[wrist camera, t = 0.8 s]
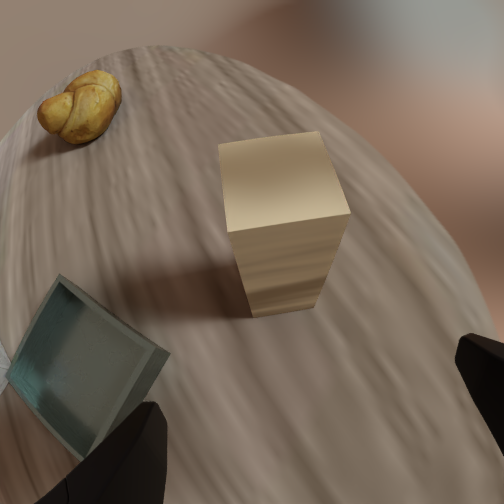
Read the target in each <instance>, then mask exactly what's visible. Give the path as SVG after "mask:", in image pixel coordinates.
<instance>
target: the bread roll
mask: <svg viewBox="0 0 504 504" xmlns="http://www.w3.org/2000/svg"><path fill="white" fill-rule="evenodd" d="M118 82H119V81H117V79H116V78H115V77H114V76H113V75H111V74H108V73H106V72H103V71H100V70H94V71H91V72H87V73H85V74H83V75H81V76H79V77H77V78H76V79H75V80H73V81H72V82H71V83H70V84H69V85H68V86H67V87H66V89H65V90H64V92H63V93H61V94H59V95H56V96H54V97H52V98H49V99H47V100H45V101H43V103H42V104H41V105H40V106H39V108H38V111H37V117H38V121H39V122H40V124H41V126H42V127H43V128H44V129H45V130H47V131H48V132H49V133H50V134H57V133H58V135H59V137H62V138H63V139H64V140H65V141H66V142H68V143H71V144H79V143H80V144H81V143H85V142H88V141H90V140H93V139H95V138H97V137H98V136H100V135H101V134H102V133H103V132H104V131H105V130H106V129H107V128H108V126H109V125H110V123H111V121H112V119H113V116H114V115H115V113H116V112H117V110H118V108H119V106H120V104H121V97H122V95H121V88H120V85H119V83H118Z"/></svg>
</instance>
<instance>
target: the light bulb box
mask: <svg viewBox="0 0 504 504" xmlns="http://www.w3.org/2000/svg"><path fill="white" fill-rule="evenodd" d="M10 364H11V362H10V360H9V358H8V356H7V354H6V352H5V350H4V348H3V346H2V344H1V342H0V395H1V393H2V392H3V390H4V389H5V387H6V386H7V384H8V383H9V381H8V380H7V378H6V377H5V376H6V373H7V371H8V369H9V367H10Z"/></svg>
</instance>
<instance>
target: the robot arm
mask: <svg viewBox="0 0 504 504" xmlns="http://www.w3.org/2000/svg"><path fill="white" fill-rule="evenodd" d="M455 363H456V366H457V368H458V370H459V372H460V374H461V376H462V378H463V380H464V382H465V384H466V387H467V389H468V391H469V393H470V395H471V397H472V399H473V401H474V403H475V405H476V407H477V408H478V410H479V412H480V413H481V415H482V417H483V419H484V420H485V422H486V424H487V426H488V428H489V429H490V431H491V433H492V435H493V437H494V439H495V441H496V442H497V444H498V446H499V448H500V450H501V452H502V454H503V456H504V343H501V342H498V341H495V340H492V339H489V338H486V337H483V336H480V335H477V334H474V333H469V334H467V335H464V336H462V337H461V338H460V339H459V343H458V347H457V351H456V355H455ZM166 475H167V421H166V419H165V417H164V415H163V413H162V411H161V409H160V407H159V405H158V404H157V403H156V402H154V401H150V402H142V403H140V404H139V405H138V406H137V407H136V408H135V409H134V410H133V411H132V412H131V413H130V414H129V415H128V416H127V417H126V418H125V419H124V420H123V421H122V422H121V423H120V424H119V425H118V426H117V427H116V428H115V429H114V430H113V431H112V432H111V433H110V434H109V435H108V436H107V437H106V438H105V439H104V440H103V441H102V442H101V443H100V444H99V445H98V446H97V447H96V448H95V449H94V450H93V451H92V452H91V453H90V454H89V455H88V456H87V457H86V458H85V459H83V460H82V461H81V462H80V463H79V464H78V465H77V466H76V467H75V468H74V469H73V470H72V471H71V472H70V473H69V474H68V475H67V476H66V478H64V479H62V480H61V481H60V482H59V483H58V484H57V485H56V486H55V487H54V488H53V489H52V490H50V491H49V492H48V493H47V494H46V495H45V496H43V497H42V498H41V499H40V500H38V501H37V502H36V503H34V504H163V500H164V492H165V484H166Z"/></svg>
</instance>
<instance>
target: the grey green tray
mask: <svg viewBox="0 0 504 504" xmlns="http://www.w3.org/2000/svg"><path fill="white" fill-rule="evenodd" d="M170 354H171V353H169V352H167V351H166V350H164V349H163V348H161V347H160V346H158V345H157V344H155V343H154V342H152V341H151V340H149V339H148V338H146V337H145V336H143V335H142V334H141V333H139V332H138V331H136V330H135V329H133V328H132V327H131V326H129V325H128V324H126V323H125V322H124V321H122V320H121V319H119V318H118V317H117V316H115V315H114V314H113V313H111V312H110V311H109V310H107V309H106V308H105V307H103V306H102V305H101V304H100V303H98V302H97V301H96V300H94V299H93V298H92V297H91V296H89V295H88V294H87V293H86V292H84V291H83V290H82V289H81V288H79V287H78V286H77V285H75V284H74V283H72V282H71V281H69V280H68V279H66V278H65V277H64V276H62V275H61V274H59V275H58V277H57V278H56V280H55V282H54V283H53V285H52V287H51V288H50V290H49V292H48V293H47V295H46V297H45V298H44V300H43V302H42V304H41V305H40V307H39V309H38V311H37V312H36V314H35V316H34V318H33V320H32V322H31V324H30V325H29V327H28V329H27V331H26V333H25V335H24V337H23V339H22V341H21V343H20V345H19V347H18V349H17V351H16V354H15V356H14V358H13V360H12V362H11V364H10V367H9V369H8V371H7V373H6V376H5V377H6V378H7V380H8V381H9V383H10V384H11V385H12V387H13V388H14V389H15V391H16V392H17V393H18V395H19V396H20V397H21V398H22V400H23V401H24V402H25V403H26V405H27V406H28V407H29V408H30V410H31V411H32V412H33V413H34V414H35V415H36V417H37V418H38V419H39V420H40V421H41V422H42V423H43V425H44V426H45V427H46V428H47V429H48V430H49V431H50V432H51V433H52V434H53V435H54V436H55V437H56V439H57V440H58V441H59V442H60V443H61V444H62V445H63V446H64V447H65V448H66V449H67V450H68V451H69V452H71V453H72V454H73V455H74V456H75V457H76V458H77V459H78V460H79V461H80V462H81V461H82V460H83V459H85V458H86V457H87V456H88V455H89V454H90V453H91V452H92V451H93V450H94V449H95V448H96V447H97V446H98V445H99V444H100V443H101V442H102V441H103V440H104V439H105V438H106V437H107V436H108V435H109V434H110V433H111V432H112V431H113V430H114V429H115V428H116V427H117V426H118V425H119V424H120V423H121V422H122V421H123V420H124V419H125V418H126V417H127V416H128V415H129V414H130V413H131V412H132V411H133V410H134V409H135V408H136V407H137V406H138V405H139V404H140V403H142V402H143V400H144V398H145V396H146V395H147V393H148V391H149V390H150V388H151V386H152V384H153V383H154V381H155V379H156V378H157V376H158V374H159V372H160V371H161V369H162V367H163V366H164V364H165V362H166V361H167V359H168V357H169V356H170Z"/></svg>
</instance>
